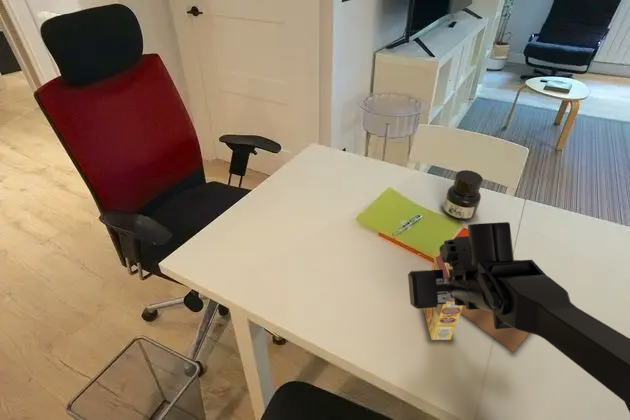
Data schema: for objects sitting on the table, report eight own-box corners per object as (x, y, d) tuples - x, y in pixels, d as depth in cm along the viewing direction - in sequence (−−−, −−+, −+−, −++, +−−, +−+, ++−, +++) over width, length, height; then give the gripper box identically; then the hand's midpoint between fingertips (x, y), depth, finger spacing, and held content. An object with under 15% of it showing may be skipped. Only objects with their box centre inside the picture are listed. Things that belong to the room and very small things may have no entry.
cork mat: (536, 323, 78) (537, 322, 78) (512, 352, 73) (513, 350, 73) (469, 278, 88) (469, 277, 87) (443, 301, 83) (444, 299, 82)
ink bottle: (435, 211, 107) (444, 176, 100) (450, 198, 112) (459, 164, 105) (467, 226, 102) (480, 191, 95) (481, 211, 107) (494, 177, 100)
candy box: (451, 340, 75) (471, 291, 65) (430, 340, 75) (447, 292, 65) (439, 304, 82) (455, 255, 72) (420, 304, 82) (434, 255, 72)
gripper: (537, 234, 59) (485, 238, 74) (421, 241, 57) (393, 243, 73) (545, 306, 57) (492, 295, 73) (427, 315, 56) (398, 301, 72)
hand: (444, 282), depth 73 cm, fingers closed on candy box, 4 cm apart
